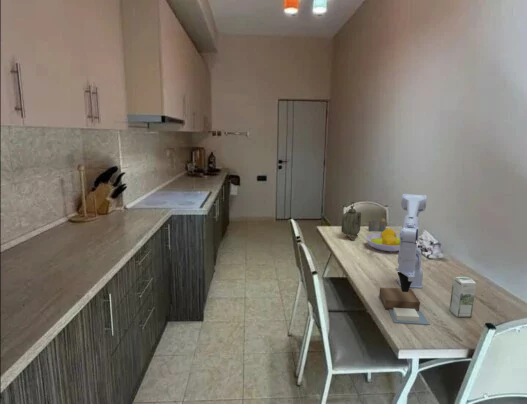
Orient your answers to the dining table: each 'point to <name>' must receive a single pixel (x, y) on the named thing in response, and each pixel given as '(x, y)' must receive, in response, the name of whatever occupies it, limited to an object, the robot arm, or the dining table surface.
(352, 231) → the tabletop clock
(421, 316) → the mat
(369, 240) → the fruit bowl
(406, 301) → the block
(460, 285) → the syrup box
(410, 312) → the tile
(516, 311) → the dining table surface
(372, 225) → the architectural model on board
